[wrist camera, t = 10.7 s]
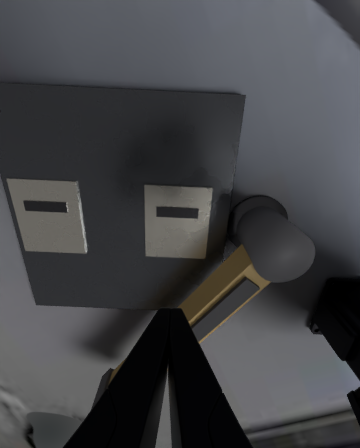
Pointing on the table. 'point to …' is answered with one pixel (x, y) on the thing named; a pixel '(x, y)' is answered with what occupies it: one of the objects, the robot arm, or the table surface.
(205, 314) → the swing arm
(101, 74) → the table surface
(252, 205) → the panel
